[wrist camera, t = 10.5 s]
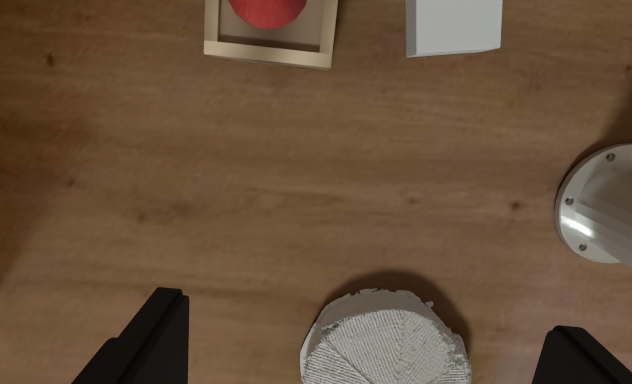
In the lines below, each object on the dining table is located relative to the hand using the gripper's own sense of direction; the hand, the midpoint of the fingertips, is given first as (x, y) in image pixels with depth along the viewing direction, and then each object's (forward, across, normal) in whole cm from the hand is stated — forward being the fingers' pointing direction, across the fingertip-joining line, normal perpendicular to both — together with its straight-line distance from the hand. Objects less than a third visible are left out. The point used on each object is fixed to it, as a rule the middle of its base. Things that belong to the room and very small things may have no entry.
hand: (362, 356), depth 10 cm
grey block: (+30, -9, -14) cm, 35 cm away
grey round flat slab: (+31, -9, +24) cm, 40 cm away
